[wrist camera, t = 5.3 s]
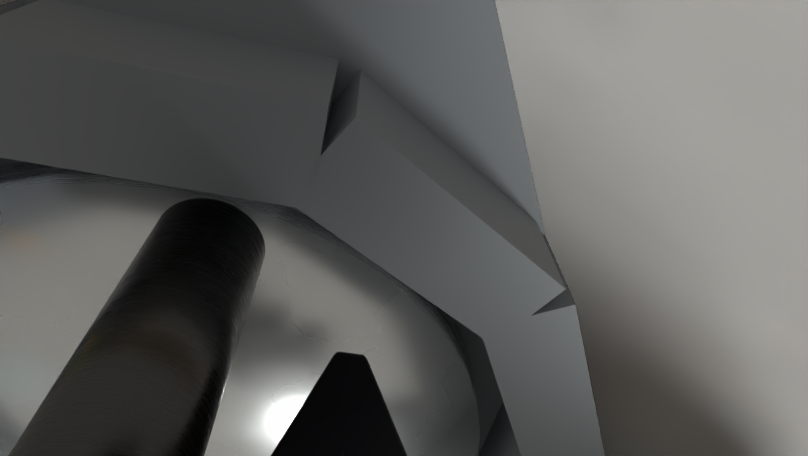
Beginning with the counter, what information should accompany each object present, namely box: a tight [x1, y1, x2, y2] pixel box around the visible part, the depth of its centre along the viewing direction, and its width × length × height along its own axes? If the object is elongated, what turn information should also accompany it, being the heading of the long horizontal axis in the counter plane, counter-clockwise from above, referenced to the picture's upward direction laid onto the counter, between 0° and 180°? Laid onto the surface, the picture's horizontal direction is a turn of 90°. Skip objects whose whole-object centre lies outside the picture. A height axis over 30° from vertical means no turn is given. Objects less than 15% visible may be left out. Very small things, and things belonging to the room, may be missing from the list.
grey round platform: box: [0, 0, 605, 456], centre depth 16 cm, size 22×22×4 cm
